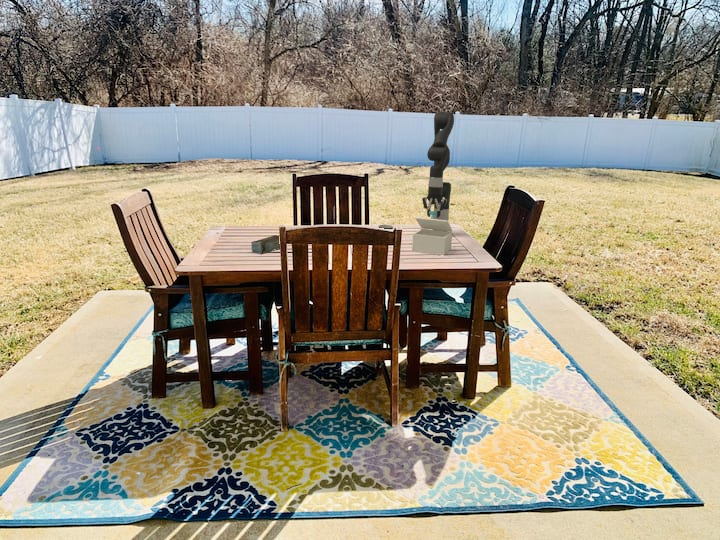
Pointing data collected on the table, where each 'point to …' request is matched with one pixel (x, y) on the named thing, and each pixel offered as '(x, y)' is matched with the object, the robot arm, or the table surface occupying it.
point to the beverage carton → (265, 244)
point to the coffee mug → (386, 226)
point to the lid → (434, 223)
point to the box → (432, 241)
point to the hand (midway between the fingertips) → (433, 216)
